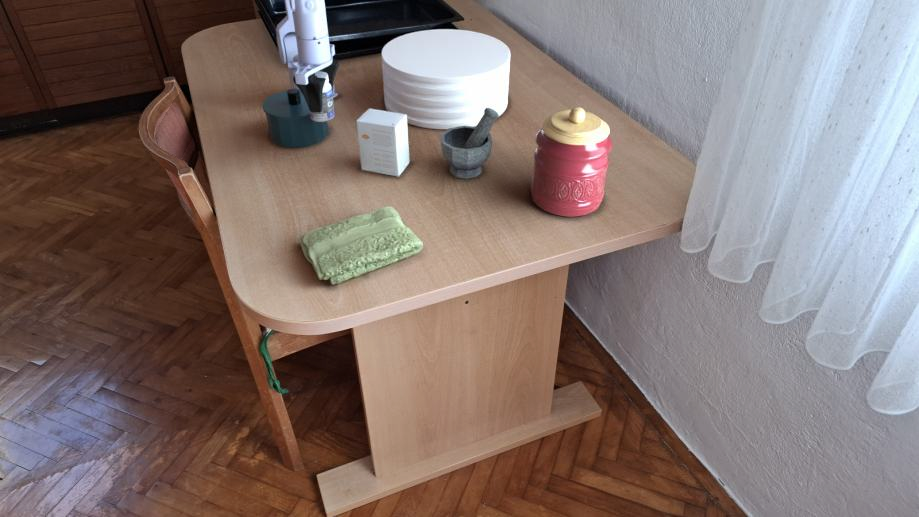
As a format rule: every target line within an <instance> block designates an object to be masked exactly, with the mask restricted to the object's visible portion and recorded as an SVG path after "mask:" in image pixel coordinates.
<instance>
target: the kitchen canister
mask: <svg viewBox="0 0 919 517" xmlns="http://www.w3.org/2000/svg"><path fill="white" fill-rule="evenodd" d="M610 132H611V131H610V126H609V124H607V122H606V121H605V120H603V119H601V118H600V117H599V116H598V115H596V114H594V113H592V112H590V111H586V110H584V109H583V108H582V107H580V106H575V107H573V108H572V109H565V110H560V111H557V112H556V113H553V114H551V115H549V116H547V117H546V118H544V119H543V121H542V123H541V128H540V129H539V130H538V131H537V133H536V134H535V143H536V146H537V148H535V150H534V152H533V158H534V162H533V172H532V173H533V175H532V180H531V184H530V192H531V199H532V201H533V202H534V204H535V205H536V206H537V207H539V208H540V209H541V210H543V211H544V212H547V213H549V214H551V215H552V214H553V215H556V216H559V217H569V218H571V217H574V218H575V217H582V216H586V215H589V214H591V213H593V212H595V211H596V210H597V209H599V207H600V206H601V203H602V201H603V199H604V194H605V184H606V178H607V172H608V167H609V166H610V157H609V155H608V154H609V153H610V151H611V150H612V148H613V140H612V137H611V136H610Z"/></svg>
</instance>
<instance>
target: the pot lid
mask: <svg viewBox="0 0 919 517" xmlns="http://www.w3.org/2000/svg"><path fill="white" fill-rule="evenodd" d="M261 107H262V111H263V112H264V114H265V115H266V114H267V115H269V116H271V117H274V118H279V119H301V118H306V117H310V114H309V107H308V105H307V102H306V100H305V98H304V96H303V94H302V92H301V91H300V89H291V88H289V89H288V90H283V91H279V92H275V93H273V94H271V95H269V96H268V97H267V98H266V99H264V100H263V102H262V104H261Z"/></svg>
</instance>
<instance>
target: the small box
mask: <svg viewBox="0 0 919 517" xmlns="http://www.w3.org/2000/svg"><path fill="white" fill-rule="evenodd" d="M355 121H356V122H355V124H356V134H357V142H358V152H359V161H360V170H362V171H366V172H372V173H378V174H381V175H388V176H393V177H398V178H399V177H400V176H401V175H402V173H403V172H404V171H405V169H406V168H407V167H408V166H409V164H410V162H411V161H410V148H409V145H410V144H409V130H408V128H409V127H408V126H409V125H408V123H407V115H406V114H401V113H395V112H388V110H381V109H375V108H370V107H369V108H368V109H367V110H365V111H364V113H362V114H361V115H360V117H359V118H357V119H356V120H355Z"/></svg>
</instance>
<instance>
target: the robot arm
mask: <svg viewBox="0 0 919 517" xmlns="http://www.w3.org/2000/svg"><path fill="white" fill-rule="evenodd" d="M284 7H285V13H286V16H285V17H284V18H283V19H282V20H281V21H280V22H279V23H278V24H277V25H276V27H275V34H276V43H277V50H278V54H279V60H280V62H281V63H282V64H283V65H287V70H288V78H289V84H290V89H300V91H301V92H302V94H303V96H304V98H305V100H306V102H307V105H308V107H309V109H310V111H311V112H318V113H320V112H321V111H322V93H323V87H324V83H325V80H326V78H318V77H317V75H316V76H315V72H317V71H321V72H326V73H327V74H328V78H329V83H330V85H331V87H332V97H333V99H335V98H337V97H338V96H339V93H337V92H335V90H336V89H335V77H336V74H337V72H338V68H339V67H340V62H339V60H337V59H334V58H333V57H334V56H335V55H336V50H335V44H332V43H330V38H329V37H330V36H329V28H328V21H327V10H326V2H325V0H284Z"/></svg>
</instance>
